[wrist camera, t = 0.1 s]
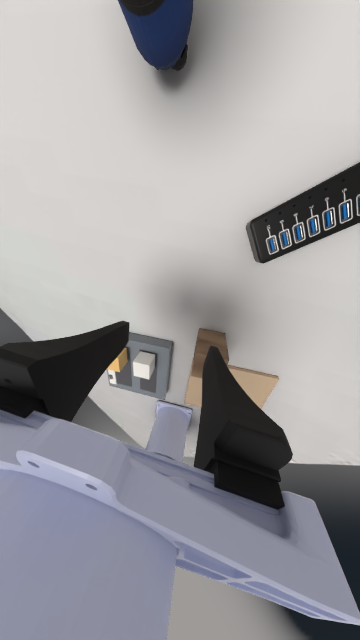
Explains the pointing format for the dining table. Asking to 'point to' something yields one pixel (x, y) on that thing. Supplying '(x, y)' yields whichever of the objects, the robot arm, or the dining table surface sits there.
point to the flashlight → (160, 30)
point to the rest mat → (250, 381)
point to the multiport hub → (307, 217)
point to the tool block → (203, 346)
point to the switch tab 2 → (144, 365)
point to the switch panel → (160, 373)
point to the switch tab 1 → (119, 361)
